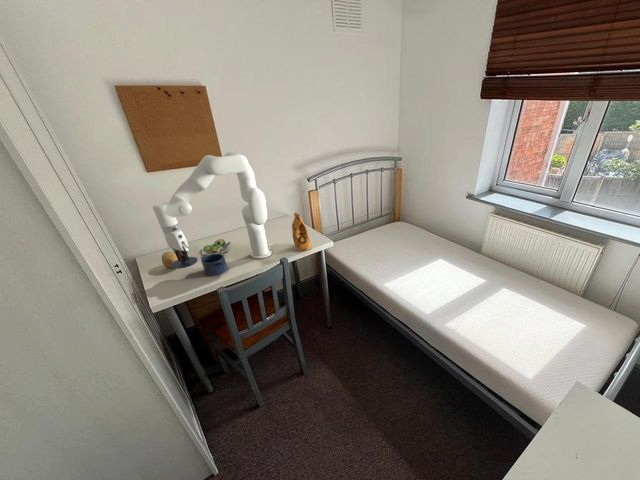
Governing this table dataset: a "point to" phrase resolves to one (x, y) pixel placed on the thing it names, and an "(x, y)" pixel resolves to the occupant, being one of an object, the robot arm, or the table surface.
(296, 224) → the coffee package
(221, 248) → the salad plate
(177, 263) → the lid
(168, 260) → the potato
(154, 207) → the robot arm
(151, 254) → the table surface
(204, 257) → the pot
